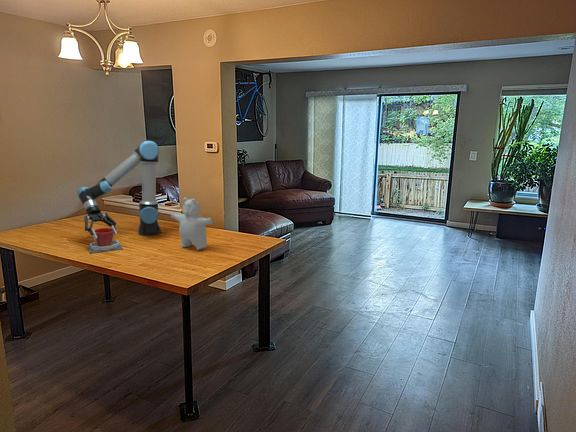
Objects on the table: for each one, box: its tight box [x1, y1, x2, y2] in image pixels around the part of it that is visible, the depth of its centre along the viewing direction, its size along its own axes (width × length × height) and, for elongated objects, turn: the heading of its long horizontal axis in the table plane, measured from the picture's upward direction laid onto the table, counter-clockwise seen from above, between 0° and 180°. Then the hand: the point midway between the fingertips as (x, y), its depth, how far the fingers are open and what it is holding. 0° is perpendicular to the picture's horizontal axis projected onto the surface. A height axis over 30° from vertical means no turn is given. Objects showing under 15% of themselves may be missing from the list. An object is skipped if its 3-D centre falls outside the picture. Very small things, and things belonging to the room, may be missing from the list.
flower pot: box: [94, 227, 114, 247], centre depth 244 cm, size 11×11×10 cm
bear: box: [170, 197, 214, 251], centre depth 245 cm, size 35×14×32 cm, turn 60°
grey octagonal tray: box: [87, 239, 124, 254], centre depth 245 cm, size 18×18×3 cm
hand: (106, 236), depth 243 cm, fingers open, 12 cm apart
